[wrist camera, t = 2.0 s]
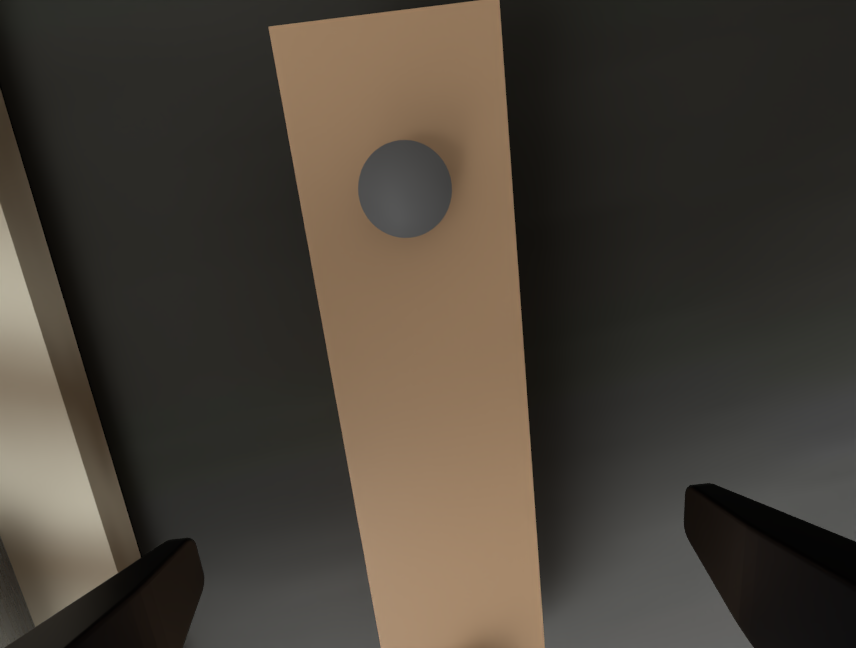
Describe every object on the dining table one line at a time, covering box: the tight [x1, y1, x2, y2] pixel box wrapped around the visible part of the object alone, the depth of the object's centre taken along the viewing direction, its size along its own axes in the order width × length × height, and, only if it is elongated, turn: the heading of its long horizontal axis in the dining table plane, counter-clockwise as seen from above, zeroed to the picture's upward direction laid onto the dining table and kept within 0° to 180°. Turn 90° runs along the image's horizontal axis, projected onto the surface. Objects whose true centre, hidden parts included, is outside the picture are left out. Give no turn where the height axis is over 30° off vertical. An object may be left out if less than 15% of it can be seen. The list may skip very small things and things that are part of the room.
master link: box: [269, 0, 545, 648], centre depth 11 cm, size 18×4×5 cm, turn 7°
